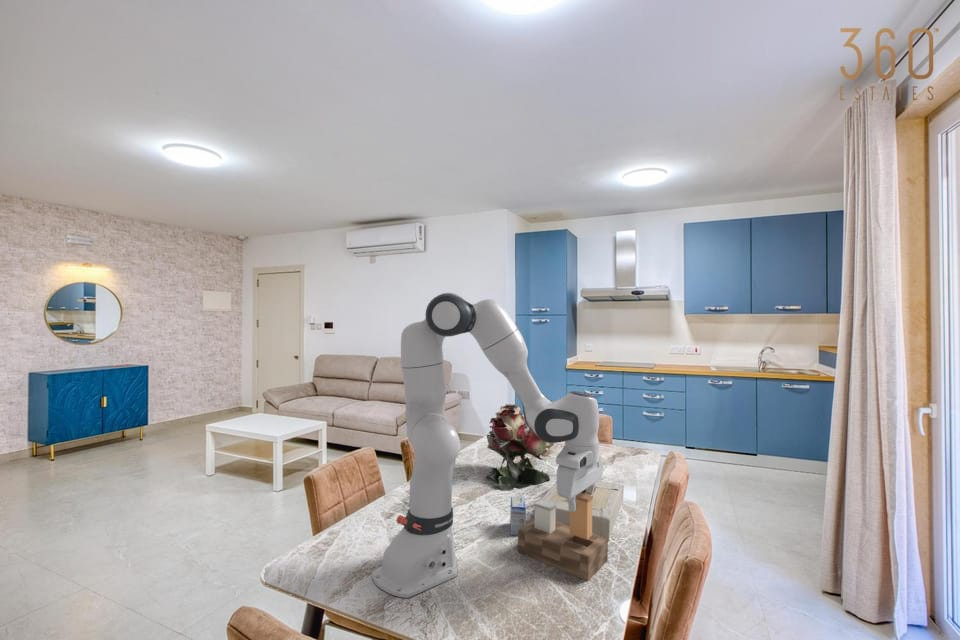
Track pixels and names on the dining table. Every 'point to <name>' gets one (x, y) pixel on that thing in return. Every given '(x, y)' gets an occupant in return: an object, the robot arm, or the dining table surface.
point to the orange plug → (582, 517)
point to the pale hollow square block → (603, 506)
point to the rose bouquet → (515, 450)
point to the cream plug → (545, 516)
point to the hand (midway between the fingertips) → (581, 504)
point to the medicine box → (517, 514)
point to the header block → (564, 549)
